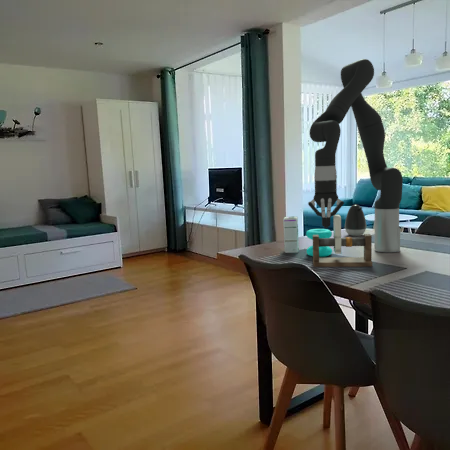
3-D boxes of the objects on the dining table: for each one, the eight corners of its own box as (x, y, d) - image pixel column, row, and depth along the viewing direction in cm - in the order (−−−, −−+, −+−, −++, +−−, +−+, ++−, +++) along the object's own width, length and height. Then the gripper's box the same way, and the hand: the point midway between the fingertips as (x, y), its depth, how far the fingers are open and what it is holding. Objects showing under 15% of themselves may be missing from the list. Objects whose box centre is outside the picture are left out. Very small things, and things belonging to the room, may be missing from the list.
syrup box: (298, 252, 178) (297, 217, 176) (283, 252, 179) (283, 218, 177) (298, 250, 183) (298, 216, 181) (284, 250, 184) (284, 216, 182)
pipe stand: (368, 261, 158) (368, 232, 156) (372, 266, 150) (372, 236, 149) (312, 261, 161) (312, 233, 160) (313, 266, 153) (313, 237, 152)
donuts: (332, 228, 174) (331, 232, 165) (332, 252, 176) (331, 257, 166) (307, 228, 177) (305, 232, 168) (307, 252, 178) (305, 257, 169)
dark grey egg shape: (351, 237, 207) (351, 206, 205) (341, 234, 217) (340, 204, 215) (370, 235, 209) (370, 204, 207) (359, 232, 219) (359, 203, 217)
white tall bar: (339, 249, 158) (339, 214, 157) (341, 253, 152) (341, 217, 150) (333, 249, 159) (333, 214, 157) (335, 253, 152) (335, 217, 150)
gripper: (343, 177, 155) (344, 225, 157) (306, 179, 157) (307, 226, 159) (346, 178, 148) (346, 228, 150) (306, 180, 150) (307, 229, 152)
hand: (326, 227), depth 155 cm, fingers closed
